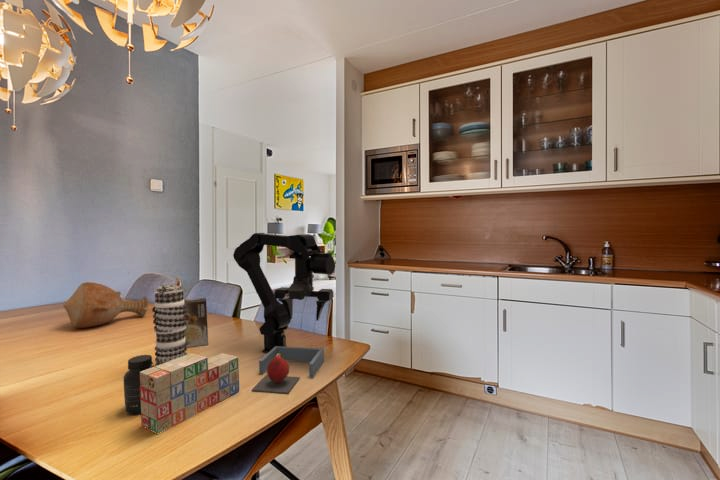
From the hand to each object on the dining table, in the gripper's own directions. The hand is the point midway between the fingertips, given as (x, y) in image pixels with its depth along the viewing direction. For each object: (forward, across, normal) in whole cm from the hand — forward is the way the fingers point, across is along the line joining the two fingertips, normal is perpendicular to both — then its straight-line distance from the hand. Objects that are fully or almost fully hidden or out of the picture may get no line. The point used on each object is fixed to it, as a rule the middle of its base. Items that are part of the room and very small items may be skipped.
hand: (304, 319), depth 114 cm
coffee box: (+12, -43, +3) cm, 45 cm away
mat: (+12, 0, -21) cm, 24 cm away
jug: (+13, -98, +20) cm, 101 cm away
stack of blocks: (+12, -14, -36) cm, 41 cm away
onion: (+12, 0, -21) cm, 24 cm away
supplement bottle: (+12, -27, -38) cm, 48 cm away
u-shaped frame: (+12, 0, -10) cm, 16 cm away
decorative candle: (+12, -36, -17) cm, 42 cm away
